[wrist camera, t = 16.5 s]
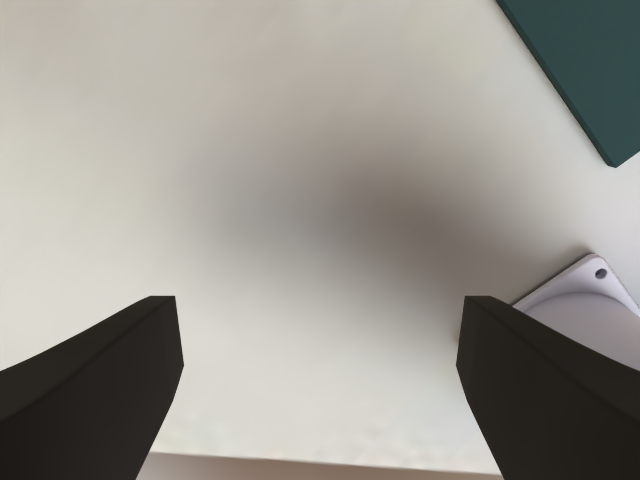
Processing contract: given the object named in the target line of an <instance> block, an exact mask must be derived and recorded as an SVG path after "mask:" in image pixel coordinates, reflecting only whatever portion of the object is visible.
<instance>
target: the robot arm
mask: <svg viewBox="0 0 640 480" xmlns="http://www.w3.org/2000/svg"><path fill="white" fill-rule="evenodd" d="M599 269H602V271H601V273H600V274H599V275H595V273H596V271H597V270H599ZM183 367H184V362H183V354H182V346H181V339H180V331H179V323H178V315H177V308H176V300H175V296H149V297H147V298H144V299H142V300H140V301H138V302H136V303H134V304H132V305H130V306H128V307H126V308H125V309H123V310H121V311H119V312H117V313H116V314H114V315H112V316H110V317H108V318H107V319H105V320H103V321H101V322H99V323H98V324H96V325H94V326H92V327H90V328H89V329H87V330H85V331H83V332H81V333H79V334H77V335H75V336H73V337H71V338H69V339H68V340H66V341H64V342H62V343H60V344H58V345H56V346H54V347H52V348H50V349H48V350H46V351H44V352H42V353H40V354H38V355H36V356H34V357H32V358H29V359H27V360H25V361H23V362H21V363H18V364H16V365H14V366H11V367H9V368H7V369H4V370H2V371H0V480H136V477H137V475H138V473H139V471H140V469H141V467H142V465H143V463H144V461H145V459H146V457H147V455H148V453H149V450H150V448H151V446H152V444H153V442H154V440H155V438H156V436H157V434H158V432H159V430H160V428H161V425H162V423H163V421H164V419H165V417H166V415H167V413H168V410H169V408H170V406H171V404H172V402H173V399H174V396H175V393H176V390H177V387H178V384H179V380H180V377H181V374H182V370H183ZM456 367H457V370H458V374H459V377H460V380H461V384H462V387H463V390H464V393H465V396H466V399H467V402H468V404H469V406H470V408H471V411H472V413H473V415H474V417H475V419H476V421H477V423H478V425H479V428H480V430H481V432H482V434H483V436H484V438H485V440H486V442H487V444H488V446H489V448H490V451H491V453H492V455H493V457H494V459H495V461H496V463H497V465H498V467H499V469H500V471H501V473H502V476H503V478H504V480H640V308H639V306H638V305H637V304H636V302H635V301H634V299H633V298H632V297H631V295H630V294H629V293H628V291H627V290H626V288H625V287H624V286H623V284H622V283H621V282H620V280H619V279H618V277H617V276H616V275H615V273H614V272H613V271H612V269H611V268H610V266H609V265H608V264H607V262H606V261H605V260H604V259H603V258H602V257H601V256H599V255H597V254H589V255H587V256H585V257H584V258H582V259H581V260H579V261H578V262H577V263H575V264H574V265H572V266H571V267H569V268H568V269H566V270H565V271H563V272H562V273H560V274H559V275H557V276H556V277H554V278H553V279H551V280H550V281H548V282H547V283H545V284H544V285H543V286H541V287H540V288H538V289H537V290H535V291H534V292H532V293H531V294H529V295H528V296H526V297H525V298H523V299H522V300H520V301H519V302H517V303H516V304H514V305H513V306H510V305H508V304H506V303H504V302H502V301H500V300H498V299H496V298H494V297H491V296H465V300H464V308H463V315H462V323H461V331H460V338H459V346H458V354H457V361H456Z"/></svg>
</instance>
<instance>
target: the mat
mask: <svg viewBox="0 0 640 480" xmlns="http://www.w3.org/2000/svg"><path fill="white" fill-rule="evenodd" d="M496 1H497V2H498V4H499V5H500V7H501V8H502V10H503V11H504V12H505V14H506V15H507V17H508V18H509V20H510V21H511V23H512V24H513V26H514V27H515V29H516V30H517V32H518V33H519V35H520V36H521V38H522V39H523V41H524V42H525V44H526V45H527V46H528V48H529V49H530V51H531V52H532V54H533V55H534V57H535V58H536V60H537V61H538V63H539V64H540V66H541V67H542V69H543V70H544V72H545V73H546V75H547V76H548V78H549V79H550V80H551V82H552V83H553V85H554V86H555V88H556V89H557V91H558V92H559V94H560V95H561V97H562V98H563V100H564V101H565V103H566V104H567V106H568V107H569V109H570V110H571V112H572V113H573V114H574V116H575V117H576V119H577V120H578V122H579V123H580V125H581V126H582V128H583V129H584V131H585V132H586V134H587V135H588V137H589V138H590V140H591V141H592V143H593V144H594V146H595V147H596V148H597V150H598V151H599V153H600V154H601V156H602V157H603V159H604V160H605V162H606V163H607V165H608V166H611V167H614V168H617V167H618V166H620V165H621V164H622V163H624V162H625V161H627V160H628V159H629V158H631V157H632V156H634V155H635V154H636V153H638V152H639V151H640V0H496Z"/></svg>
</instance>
